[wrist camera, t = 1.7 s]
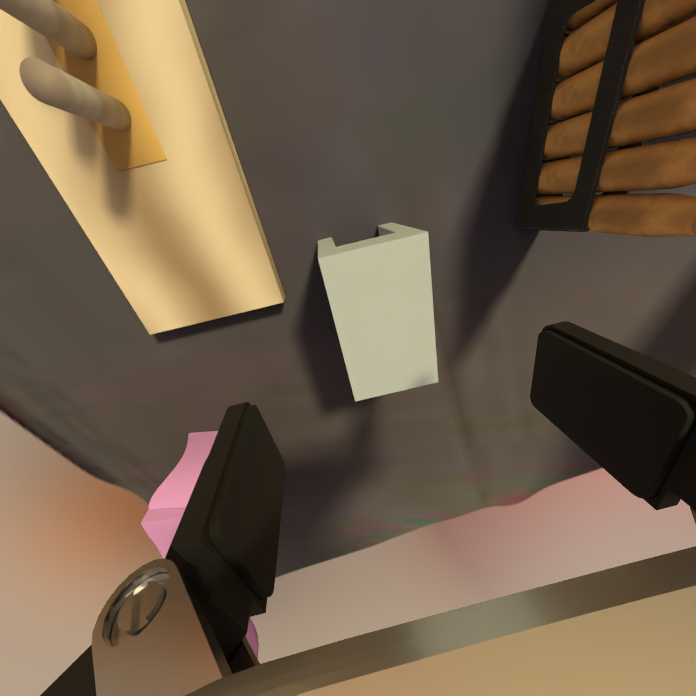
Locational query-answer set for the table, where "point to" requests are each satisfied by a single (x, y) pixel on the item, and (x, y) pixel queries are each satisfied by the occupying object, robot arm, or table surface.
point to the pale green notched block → (383, 309)
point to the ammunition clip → (613, 119)
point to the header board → (139, 152)
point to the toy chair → (182, 502)
